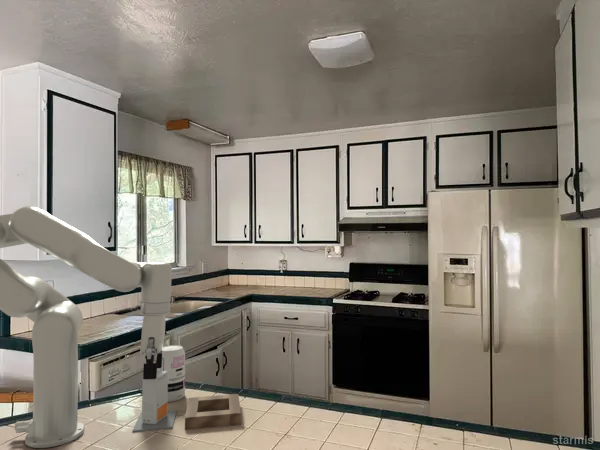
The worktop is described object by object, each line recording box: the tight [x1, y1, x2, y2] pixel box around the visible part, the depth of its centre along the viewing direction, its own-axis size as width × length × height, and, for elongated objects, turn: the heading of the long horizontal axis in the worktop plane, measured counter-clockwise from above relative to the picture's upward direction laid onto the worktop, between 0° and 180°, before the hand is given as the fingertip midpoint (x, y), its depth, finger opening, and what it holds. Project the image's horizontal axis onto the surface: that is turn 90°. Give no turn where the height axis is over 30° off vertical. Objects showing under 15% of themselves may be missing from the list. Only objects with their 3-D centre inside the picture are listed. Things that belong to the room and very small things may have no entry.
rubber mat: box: [132, 409, 178, 433], centre depth 111 cm, size 10×11×1 cm
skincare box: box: [141, 371, 168, 424], centre depth 112 cm, size 6×4×12 cm
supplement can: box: [157, 344, 186, 403], centre depth 129 cm, size 8×8×15 cm
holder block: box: [184, 393, 242, 431], centre depth 114 cm, size 14×14×3 cm
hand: (152, 373), depth 111 cm, fingers open, 9 cm apart
